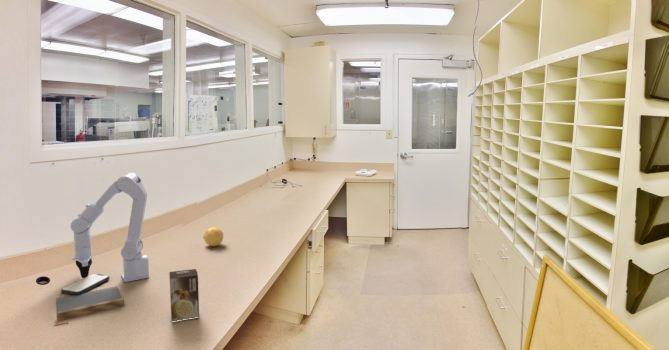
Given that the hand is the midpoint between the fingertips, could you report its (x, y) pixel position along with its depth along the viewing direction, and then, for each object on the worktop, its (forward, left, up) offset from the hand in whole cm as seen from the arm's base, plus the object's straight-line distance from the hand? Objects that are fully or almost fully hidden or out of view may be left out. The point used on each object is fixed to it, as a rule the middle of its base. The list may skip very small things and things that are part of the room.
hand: (84, 277), depth 165 cm
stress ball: (-59, -14, -1) cm, 61 cm away
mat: (0, +22, -1) cm, 22 cm away
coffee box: (-26, +52, -1) cm, 58 cm away
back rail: (0, +32, -1) cm, 32 cm away
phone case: (0, +8, -1) cm, 8 cm away
